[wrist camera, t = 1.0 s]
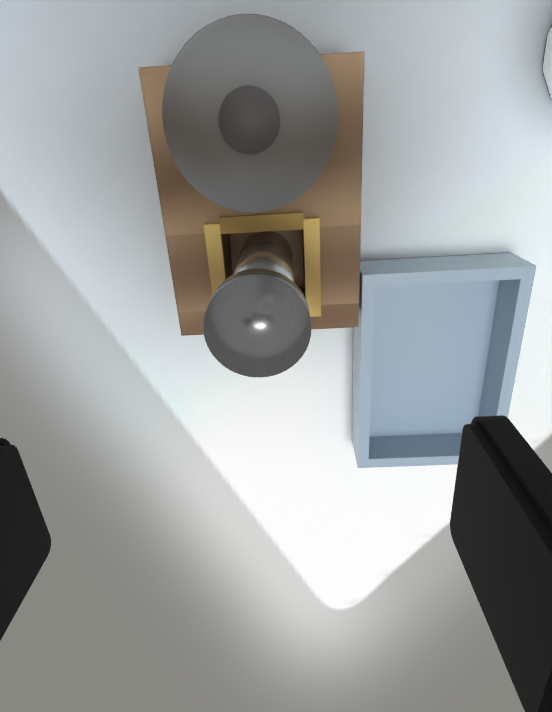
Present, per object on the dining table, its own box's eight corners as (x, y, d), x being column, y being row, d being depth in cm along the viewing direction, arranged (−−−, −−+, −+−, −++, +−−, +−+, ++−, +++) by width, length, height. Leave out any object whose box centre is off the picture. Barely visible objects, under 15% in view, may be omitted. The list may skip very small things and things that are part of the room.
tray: (354, 261, 28) (362, 275, 25) (510, 252, 28) (536, 265, 25) (351, 440, 34) (357, 467, 31) (481, 435, 34) (498, 462, 31)
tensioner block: (156, 54, 24) (102, 21, 17) (352, 40, 23) (382, 0, 16) (193, 311, 30) (165, 366, 23) (349, 303, 29) (370, 357, 22)
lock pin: (229, 224, 26) (196, 280, 16) (299, 219, 26) (309, 274, 16) (236, 291, 28) (210, 379, 18) (302, 287, 28) (312, 374, 18)
